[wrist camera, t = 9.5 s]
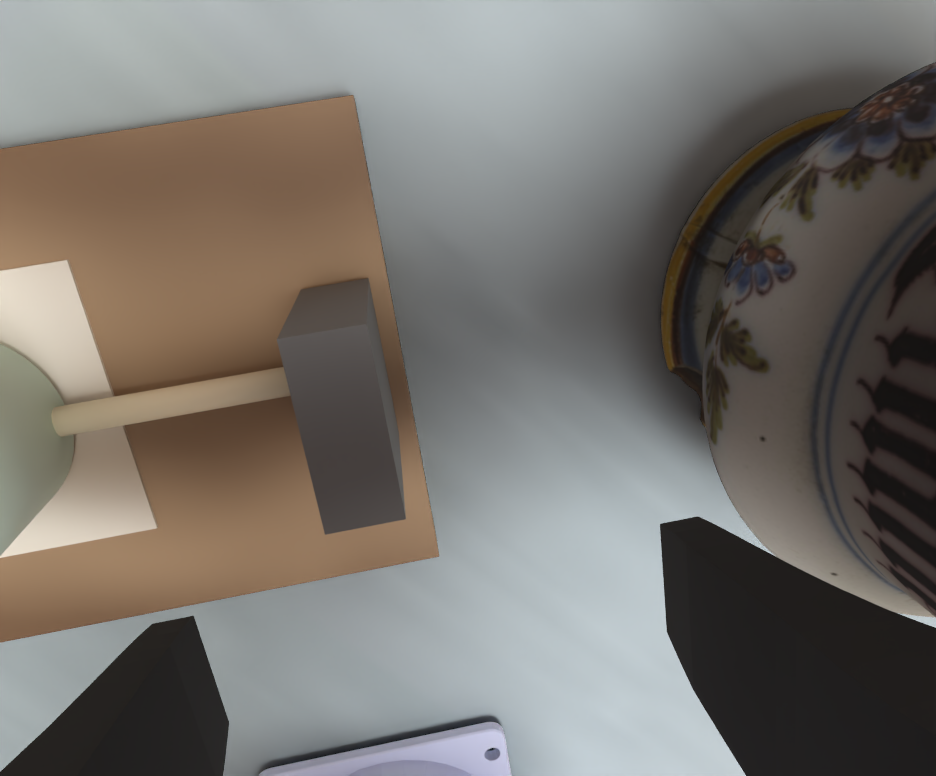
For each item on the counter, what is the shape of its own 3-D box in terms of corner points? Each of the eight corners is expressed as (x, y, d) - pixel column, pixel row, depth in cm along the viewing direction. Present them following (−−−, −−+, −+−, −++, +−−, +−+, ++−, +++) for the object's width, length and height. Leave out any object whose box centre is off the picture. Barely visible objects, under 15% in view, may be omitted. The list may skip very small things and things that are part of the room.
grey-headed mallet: (402, 449, 19) (411, 555, 14) (-105, 544, 18) (-277, 688, 13) (364, 256, 17) (360, 302, 12) (-199, 351, 16) (-433, 438, 11)
